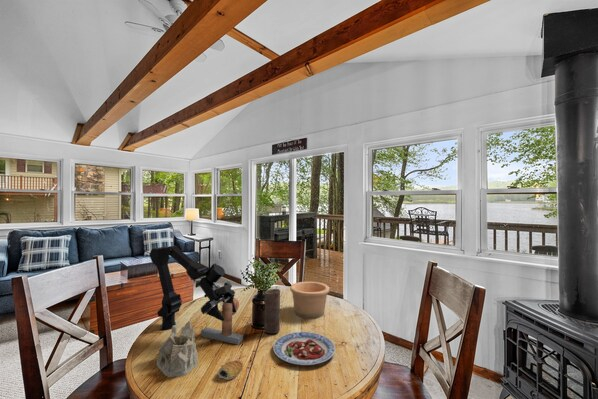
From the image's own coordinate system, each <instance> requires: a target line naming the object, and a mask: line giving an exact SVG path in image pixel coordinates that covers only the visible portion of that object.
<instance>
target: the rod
mask: <svg viewBox="0 0 598 399" xmlns="http://www.w3.org/2000/svg"><path fill="white" fill-rule="evenodd" d="M221 307H222V308H221V314H222V316H223V318H224V321H221V331H222V336H230V335H231V334H232V333H233V314H232V304H231V303H225V304H223V303H222V306H221Z"/></svg>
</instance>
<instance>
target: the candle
mask: <svg viewBox="0 0 598 399" xmlns="http://www.w3.org/2000/svg"><path fill="white" fill-rule="evenodd" d="M280 314H281V290H280V289H279V288H269V289H266V291H265V292H264V326H263V327H264V328H263V329H264V332H265V333H267V334H276V333H279V332H280V329H281V315H280Z"/></svg>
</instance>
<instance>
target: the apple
mask: <svg viewBox="0 0 598 399" xmlns="http://www.w3.org/2000/svg"><path fill="white" fill-rule="evenodd" d="M233 301H234V305H235V309H236V312H238V310H239V307H240V302H239V299H237V298H236V297H234V299H233ZM223 304H224V302H222V305H223ZM233 314H234V313H233V312H232V315H233Z"/></svg>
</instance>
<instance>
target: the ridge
mask: <svg viewBox="0 0 598 399" xmlns="http://www.w3.org/2000/svg"><path fill="white" fill-rule="evenodd" d="M200 337H203V338H208V339H212V340H216V341H220V342H225V343H230V344H233V345H240V344H241V343H242V342H243V340H244V335H243V334H240V333H234V332H232V334H231V335H230V336H222V329H215V328H213V327H212V328H211V327H204V328H203V329H201V330H200Z"/></svg>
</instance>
